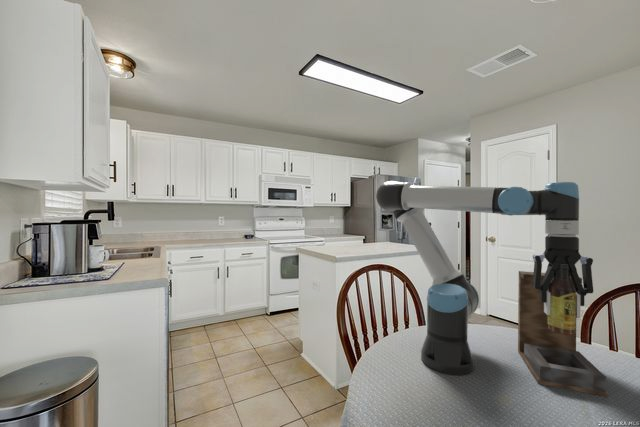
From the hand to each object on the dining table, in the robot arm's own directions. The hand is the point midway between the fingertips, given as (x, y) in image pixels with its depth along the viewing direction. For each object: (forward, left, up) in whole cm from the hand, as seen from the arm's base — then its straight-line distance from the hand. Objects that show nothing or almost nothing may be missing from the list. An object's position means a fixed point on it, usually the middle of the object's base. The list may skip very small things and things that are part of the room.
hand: (561, 314), depth 84 cm
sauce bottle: (0, 0, -5) cm, 5 cm away
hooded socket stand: (0, +3, -18) cm, 18 cm away
